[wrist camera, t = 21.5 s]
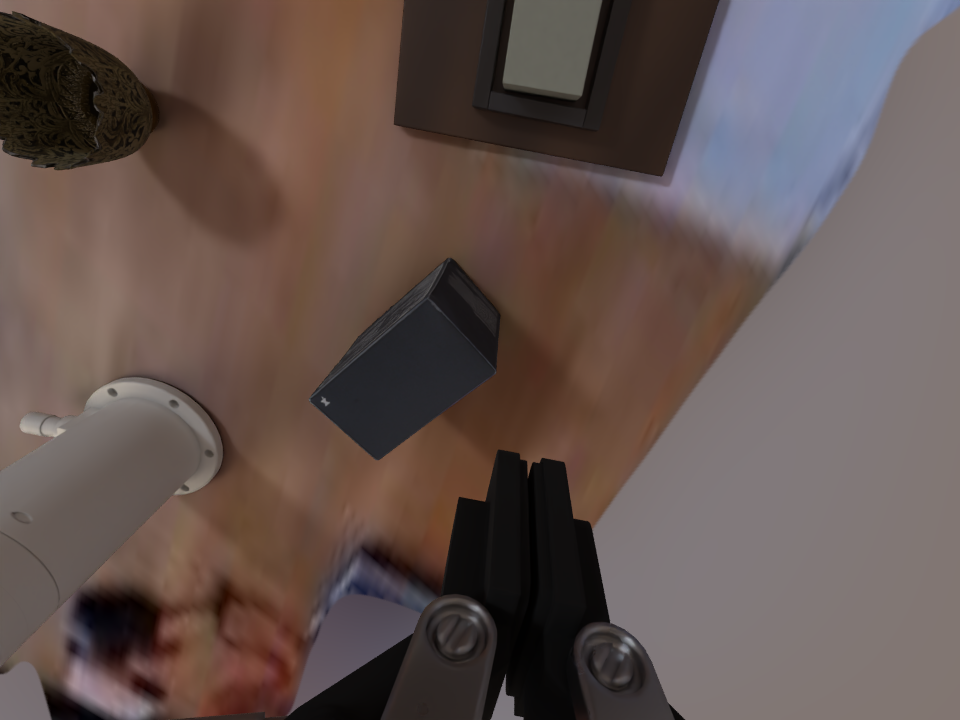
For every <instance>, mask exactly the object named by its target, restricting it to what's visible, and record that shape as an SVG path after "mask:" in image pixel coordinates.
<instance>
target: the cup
mask: <svg viewBox="0 0 960 720" xmlns="http://www.w3.org/2000/svg"><path fill="white" fill-rule="evenodd" d="M158 122H159V108H158V104H157V102H156V100H155V98H154V96H153V95H152V93H151V92H150V91H149V90H148V89H147V88H146V87H145V86H144V85H143V84H142V83H140V81H139V80H138V78H137V77H136V76H135V75H134V73H133V72H132V71H131V70H130V69H129V68H128V67H127V66H126V65H125V64H124V63H122V62H121V61H120V60H119V59H118V58H116V57H115V56H114V55H112V54H110V53H109V52H107V51H105V50H104V49H102V48H100V47H98V46H96V45H94V44H92V43H90V42H88V41H86V40H83V39H81V38H79V37H76V36H74V35H72V34H69V33H67V32H64V31H62V30H59V29H57V28H54V27H52V26H49V25H47V24H44V23H42V22H39V21H37V20H34V19H32V18H29V17H27V16H25V15H23V14H21V13H17V12H14V11H12V15H11V14H7V13H3V12H0V139H1V140H5V141H3V144H2V145H3V147H2V149H3V151H4V152H6V153H8V154H9V155H11V156H15V157H19V158H24V159H30V160H33V162H32V164H31V166H33V167H41V168H48V167H55V168H54V169H55V170H65V169H73V168H76V167H82V166H88V165H93V164H99V163H104V162H109V161H113V160H117V159H120V158H123V157H126V156H128V155H130V154H132V153H134V152H136V151H137V150H138V149H139V148H141V147H142V146H143V145H144V143H145V142H146V141H147V139H148V137H149V134H150V133H151V132H153V131H154V130H155V128H156V127H157V125H158Z"/></svg>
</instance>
